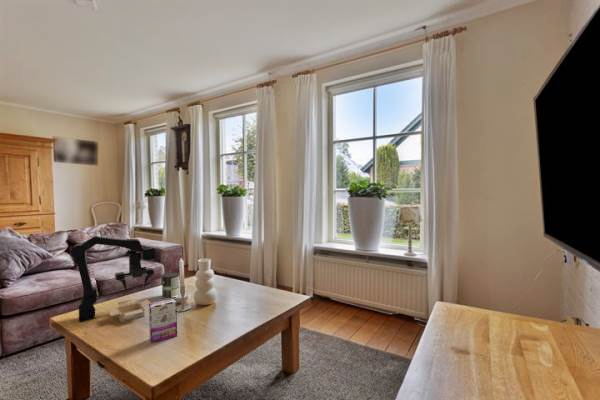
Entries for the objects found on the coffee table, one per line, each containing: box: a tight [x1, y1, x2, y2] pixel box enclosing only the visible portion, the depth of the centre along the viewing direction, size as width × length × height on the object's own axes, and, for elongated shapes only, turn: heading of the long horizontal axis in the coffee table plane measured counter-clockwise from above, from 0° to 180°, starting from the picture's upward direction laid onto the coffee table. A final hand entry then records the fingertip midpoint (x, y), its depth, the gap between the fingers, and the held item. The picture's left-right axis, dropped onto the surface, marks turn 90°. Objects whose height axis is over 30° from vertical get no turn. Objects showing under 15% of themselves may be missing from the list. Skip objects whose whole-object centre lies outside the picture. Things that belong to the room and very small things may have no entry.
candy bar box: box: [148, 298, 178, 344], centre depth 133 cm, size 11×5×16 cm, turn 126°
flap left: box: [117, 298, 137, 307], centre depth 161 cm, size 8×1×4 cm
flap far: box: [139, 299, 152, 308], centre depth 161 cm, size 1×8×4 cm
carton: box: [107, 302, 145, 323], centre depth 153 cm, size 15×15×4 cm
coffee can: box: [161, 271, 180, 300], centre depth 185 cm, size 10×10×14 cm
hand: (135, 288), depth 164 cm, fingers open, 9 cm apart
